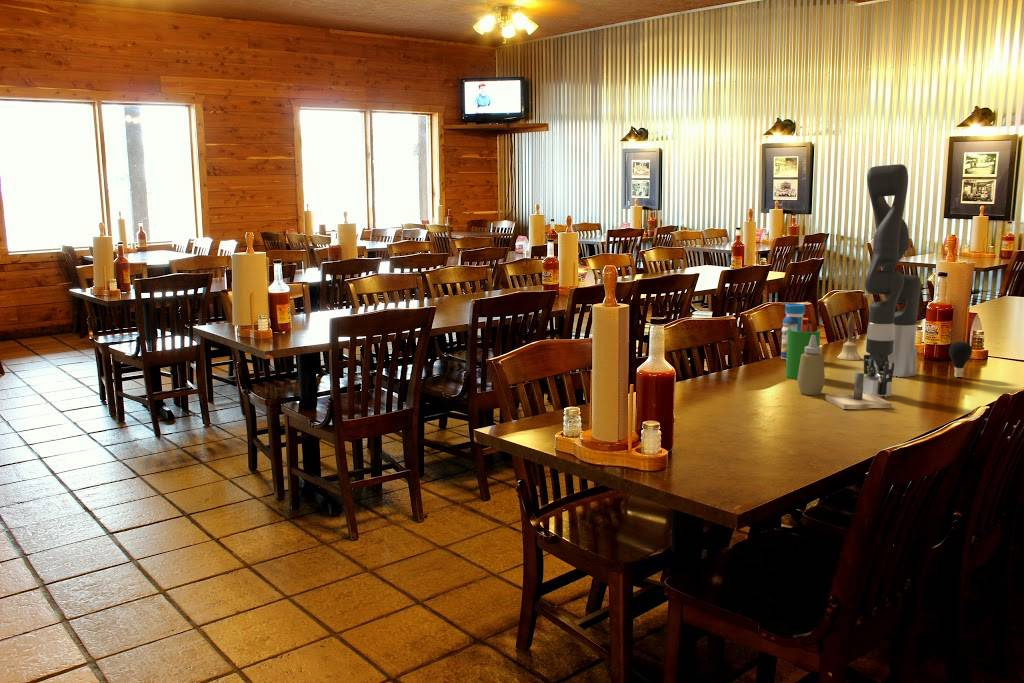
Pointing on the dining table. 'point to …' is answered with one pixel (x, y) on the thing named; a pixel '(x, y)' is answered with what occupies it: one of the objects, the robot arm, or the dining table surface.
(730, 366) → the dining table surface
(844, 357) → the hand bell
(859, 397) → the stand
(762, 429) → the dining table surface
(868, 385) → the collar
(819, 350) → the squeeze bottle
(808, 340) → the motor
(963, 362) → the light bulb
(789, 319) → the beverage bottle
